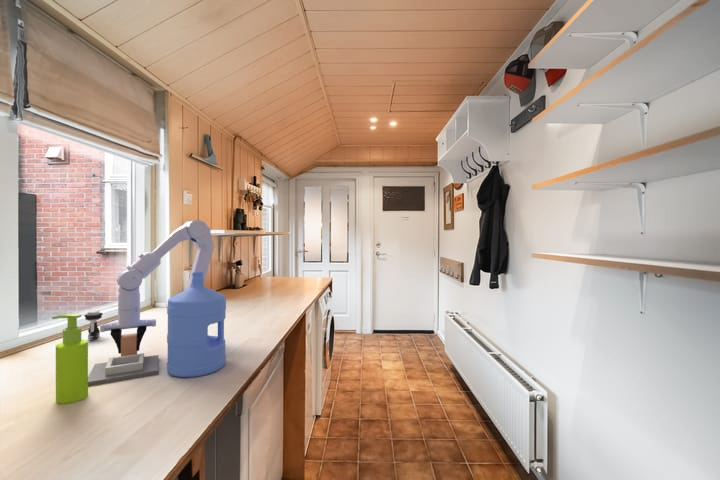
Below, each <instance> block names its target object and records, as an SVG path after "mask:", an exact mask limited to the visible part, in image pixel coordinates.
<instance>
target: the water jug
mask: <svg viewBox="0 0 720 480" xmlns="http://www.w3.org/2000/svg"><path fill="white" fill-rule="evenodd" d="M203 274H204V273H202V272H196V273H192V286H191V287H190V288H189V289H187V290H186V289H185V290H183V291H181V292H178V293H177V294H175V295H173V296H171V297H169V298H168V300H167V307H166V310H167V313H166V314H167V335H166V343H167V362H166V370H167V373H169V375H171V376H173V377H177V378H196V377H201V376H206V375H210V374H212V373H215V372H217V371H219V370H220V369H222V368H223V367H224V366H225V364H226V362H227V360H226V358H227V355H226V339H225V319H226V314H227V313H226V310H227V300H226V295H225V294H223V293H221V292H218V291H215V290H213V289H211V288H208V287H206V286H205V284H204V285H203V280H204V278H203ZM213 324H217V336H216V335H209V333H208V332H209V329H208V328H209V326H210V325H213Z"/></svg>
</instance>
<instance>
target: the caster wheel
mask: <svg viewBox="0 0 720 480" xmlns="http://www.w3.org/2000/svg"><path fill="white" fill-rule="evenodd" d="M83 317H85V320H86V321H88V322H89V323H90V325H89V328H88V331H87V333H88V334H87V335H88V336H87V338H88V341H95V340H96V339H97V338H98V339H99V337H100V333H101V332H100V327H98V322H97V321H98V320H101V319H102V318H103V312H100V310H90V311H87V313H86V314H84V315H83Z"/></svg>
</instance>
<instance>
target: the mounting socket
mask: <svg viewBox="0 0 720 480" xmlns="http://www.w3.org/2000/svg"><path fill="white" fill-rule="evenodd" d="M154 375H159V354H155V355H148V356H145V353H137V354H135V355H128V356H121V355H120V356H116V357H115V356H114V357H109V358H108V361H107V362H100V363H98V362H97V363H94V365H93V366H92V368H91V371H90V373H88V387H89V386H94V385H95V386H96V385H101V384H107V383H113V382H119V381H126V380H130V379H136V378H143V377H149V376H154Z"/></svg>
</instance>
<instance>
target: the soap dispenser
mask: <svg viewBox="0 0 720 480" xmlns="http://www.w3.org/2000/svg"><path fill="white" fill-rule="evenodd" d="M81 317H82V314H81V313H62V314H59V315H56V316H52V317H51V319H52V320H56V319H67V327H66V328H64V329H62V342H60V343H57V344H55V403H56V404H58V405H67V404H72V403H75V402H79V401H82V400H83V399H85V398H87V397H88V395H89V386H88V376H89V340H87V339H82V327H81V326H78V325H77V324H78V321H77V320H78V318H81Z"/></svg>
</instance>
